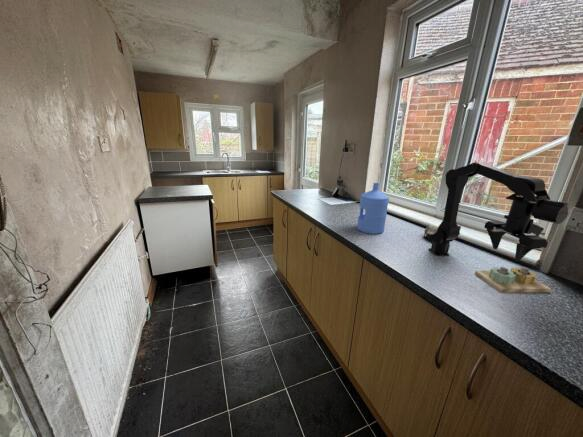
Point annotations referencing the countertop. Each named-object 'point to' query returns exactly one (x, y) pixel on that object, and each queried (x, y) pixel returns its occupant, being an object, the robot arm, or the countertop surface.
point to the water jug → (373, 211)
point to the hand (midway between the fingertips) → (505, 254)
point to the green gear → (502, 276)
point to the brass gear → (524, 276)
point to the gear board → (513, 286)
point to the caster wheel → (430, 231)
